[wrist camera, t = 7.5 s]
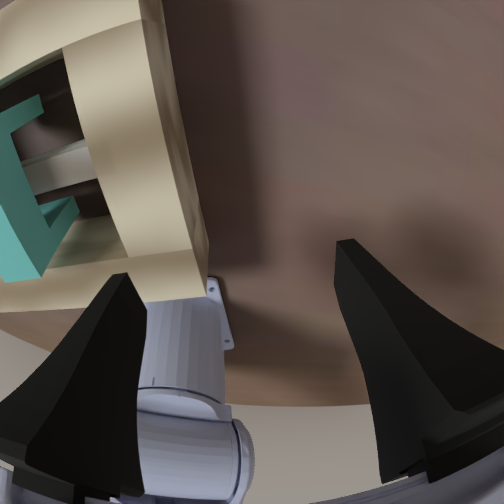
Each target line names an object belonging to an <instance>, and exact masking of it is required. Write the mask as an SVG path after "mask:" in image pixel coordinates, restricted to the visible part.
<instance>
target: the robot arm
mask: <svg viewBox="0 0 504 504" xmlns="http://www.w3.org/2000/svg"><path fill="white" fill-rule="evenodd" d="M211 287H213V288H211ZM334 287H335V291H336V295H337V299H338V303H339V306H340V310H341V313H342V315H343V318H344V321H345V323H346V326H347V328H348V331H349V334H350V336H351V339H352V342H353V344H354V347H355V350H356V352H357V355H358V358H359V360H360V363H361V367H362V370H363V373H364V377H365V382H366V386H367V390H368V395H369V400H370V405H371V410H372V415H373V421H374V427H375V434H376V440H377V450H378V459H379V471H380V477H381V482H382V484H384V483H387V482H390V481H393V480H396V479H399V478H402V477H405V476H408V477H409V478H406V479H404V480H401V481H398V482H395V483H392V484H389V485H385V486H382V487H379V488H376V489H372V490H369V491H365V492H361V493H357V494H353V495H349V496H345V497H341V498H337V499H332V500H327V501H321V502H316V503H310V504H504V350H503V349H501V348H498V347H496V346H494V345H492V344H490V343H488V342H487V341H485V340H483V339H481V338H479V337H477V336H475V335H474V334H472V333H470V332H468V331H467V330H465V329H464V328H462V327H460V326H459V325H457V324H456V323H454V322H452V321H451V320H449V319H448V318H446V317H445V316H443V315H442V314H441V313H439V312H438V311H436V310H435V309H434V308H432V307H431V306H430V305H428V304H427V303H426V302H424V301H423V300H422V299H420V298H419V297H418V296H417V295H415V294H414V293H413V292H412V291H411V290H409V289H408V288H407V287H406V286H405V285H404V284H402V283H401V282H400V281H399V280H398V279H397V278H396V277H395V276H393V275H392V274H391V273H390V272H389V271H388V270H387V269H386V268H385V267H384V266H382V265H381V264H380V263H379V262H378V261H377V260H376V259H375V258H374V257H373V256H372V255H371V254H370V253H369V252H368V251H367V250H366V249H365V248H363V247H362V246H361V245H360V244H359V243H358V242H357V241H356V240H355V239H348V240H341V241H337V242H336V260H335V275H334ZM233 348H234V342H233V338H232V334H231V330H230V327H229V323H228V319H227V315H226V312H225V308H224V304H223V300H222V296H221V292H220V288H219V284H218V281H217V279H215V278H213V277H208V278H207V296H204V297H195V298H186V299H176V300H166V301H156V302H145V303H143V301H142V299H141V298H140V296H139V294H138V292H137V290H136V288H135V286H134V284H133V282H132V281H131V279H130V277H129V275H128V273H127V272H125V273H118V274H112V276H111V277H110V278H109V279H108V280H107V282H106V283H105V284H104V285H103V287H102V288H101V289H100V291H99V292H98V293H97V295H96V296H95V297H94V299H93V300H92V301H91V303H90V304H89V305H88V307H87V308H86V309H85V311H84V312H83V314H82V315H81V316H80V318H79V319H78V320H77V322H76V323H75V324H74V325H73V327H72V328H71V329H70V331H69V332H68V333H67V334H66V336H65V337H64V338H63V340H62V341H61V342H60V343H59V345H58V346H57V347H56V348H55V349H54V351H53V352H52V353H51V354H50V355H49V356H48V358H47V359H46V360H45V361H44V362H43V363H42V364H41V365H40V366H39V367H38V368H37V369H36V370H35V371H34V372H33V373H32V374H31V375H30V376H29V377H28V378H27V379H26V380H25V381H24V382H23V383H22V384H21V385H20V386H19V387H18V388H17V389H16V390H14V391H13V392H12V393H11V394H10V395H9V396H7V397H6V398H5V399H4V400H2V401H1V402H0V459H1V460H3V461H5V462H6V463H8V464H11V465H13V466H14V471H13V472H12V471H10V470H8V469H5V468H3V467H1V466H0V504H242V502H243V499H244V497H245V494H246V492H247V491H248V489H249V488H250V485H251V483H252V479H253V474H254V463H255V457H254V448H253V442H252V439H251V436H250V434H249V432H248V430H247V429H246V428H245V426H244V425H243V423H242V422H241V421H240V420H238V419H232V414H231V406H230V405H225V370H224V350H230V349H233Z"/></svg>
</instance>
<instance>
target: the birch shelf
mask: <svg viewBox="0 0 504 504" xmlns="http://www.w3.org/2000/svg"><path fill="white" fill-rule="evenodd" d="M61 58H64V60H65V65H66V69H67V74H68V78H69V82H70V86H71V91H72V95H73V99H74V102H75V106H76V110H77V114H78V117H79V121H80V124H81V128H82V131H83V134H84V138H85V139H83V140H80V141H77V142H73V143H70V144H67V145H64V146H61V147H59V148H56V149H53V150H50V151H47V152H45V153H42V154H39V155H37V156H34V157H31V158H29V159H26V160H24V161H21V162H20V163H21V165H22V168H23V170H24V173H25V175H26V178H27V180H28V183H29V185H30V187H31V190H32V192H33V194H34V196H35V195H38V194H41V193H44V192H48V191H51V190H54V189H58V188H61V187H65V186H69V185H72V184H76V183H80V182H83V181H87V180H91V179H95V178H98V180H99V183H100V186H101V189H102V192H103V194H104V197H105V200H106V202H107V205H108V208H109V210H110V213H111V214H110V215H105V216H100V217H95V218H90V219H85V220H80V221H75V222H73V224H72V225H71V227H70V228H69V230H68V232H67V233H66V235H65V237H64V238H63V240H62V242H61V243H60V245H59V247H58V248H57V250H56V252H55V254H54V255H53V257H52V259H51V261H50V263H49V264H48V266H47V268H46V270H45V272H44V274H43V276H42V278H37V279H30V280H23V281H16V282H8V283H5V282H4V280H3V279H2V277H1V276H0V312H18V311H38V310H55V309H71V308H85V307H88V305H89V304H90V303H91V301H92V300H93V299H94V297H95V296H96V295H97V293H98V292H99V291H100V289H101V288H102V287H103V285H104V284H105V283H106V282H107V280H108V279H109V278H110V277H111V276H112V274H118V273H125V272H127V273H128V275H129V277H130V279H131V281H132V282H133V284H134V286H135V288H136V290H137V292H138V294H139V296H140V298H141V299H142V301H143V303H145V302H156V301H166V300H176V299H186V298H195V297H204V296H207V272H208V251H209V241H208V237H207V232H206V228H205V224H204V219H203V215H202V211H201V206H200V202H199V197H198V193H197V188H196V184H195V179H194V174H193V170H192V165H191V160H190V155H189V150H188V146H187V141H186V136H185V131H184V126H183V121H182V115H181V110H180V105H179V100H178V94H177V89H176V83H175V78H174V72H173V67H172V61H171V55H170V49H169V43H168V37H167V31H166V24H165V18H164V11H163V5H162V0H15V1H13V2H12V3H10V4H9V5H7V6H6V7H4V8H3V9H1V10H0V90H1V89H3V88H5V87H6V86H8V85H10V84H11V83H13V82H15V81H17V80H19V79H20V78H22V77H24V76H26V75H28V74H30V73H32V72H34V71H36V70H38V69H40V68H42V67H44V66H46V65H48V64H50V63H52V62H55V61H57V60H59V59H61Z"/></svg>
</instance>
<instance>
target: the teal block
mask: <svg viewBox="0 0 504 504" xmlns="http://www.w3.org/2000/svg"><path fill="white" fill-rule="evenodd" d="M42 113H44V111H43V108H42V104H41V100H40V97H39V94H38V95H35V96H33V97H31V98H29V99H27V100H25V101H23V102H21V103H19V104H17V105H15V106H13V107H11V108H9V109H7V110H5V111H3V112H2V113H0V276H1V277H2V279H3V280H4V282H5V283H8V282H16V281H23V280H30V279H37V278H42V276H43V274H44V272H45V270H46V268H47V266H48V264H49V263H50V261H51V259H52V257H53V255H54V254H55V252H56V250H57V248H58V247H59V245H60V243H61V242H62V240H63V238H64V237H65V235H66V233H67V232H68V230H69V228H70V227H71V225H72V224H73V222H74V220H75V219H76V217H77V216H78V214H79V213H80V211H79V208H78V206H77V204H76V201H75V199H74V196H70V197H66V198H63V199H59V200H56V201H52V202H48V203H45V204H42V205H39V206H38V203H37V201H36V199H35V197H34V194H33V192H32V190H31V187H30V185H29V183H28V180H27V178H26V175H25V173H24V170H23V168H22V165H21V163H20V160H19V157H18V155H17V152H16V149H15V147H14V144H13V141H12V138H11V135H10V133H12V132H13V131H15V130H16V129H18V128H19V127H21V126H23V125H24V124H26V123H27V122H29V121H31V120H32V119H34V118H36V117H37V116H39V115H41V114H42Z"/></svg>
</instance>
